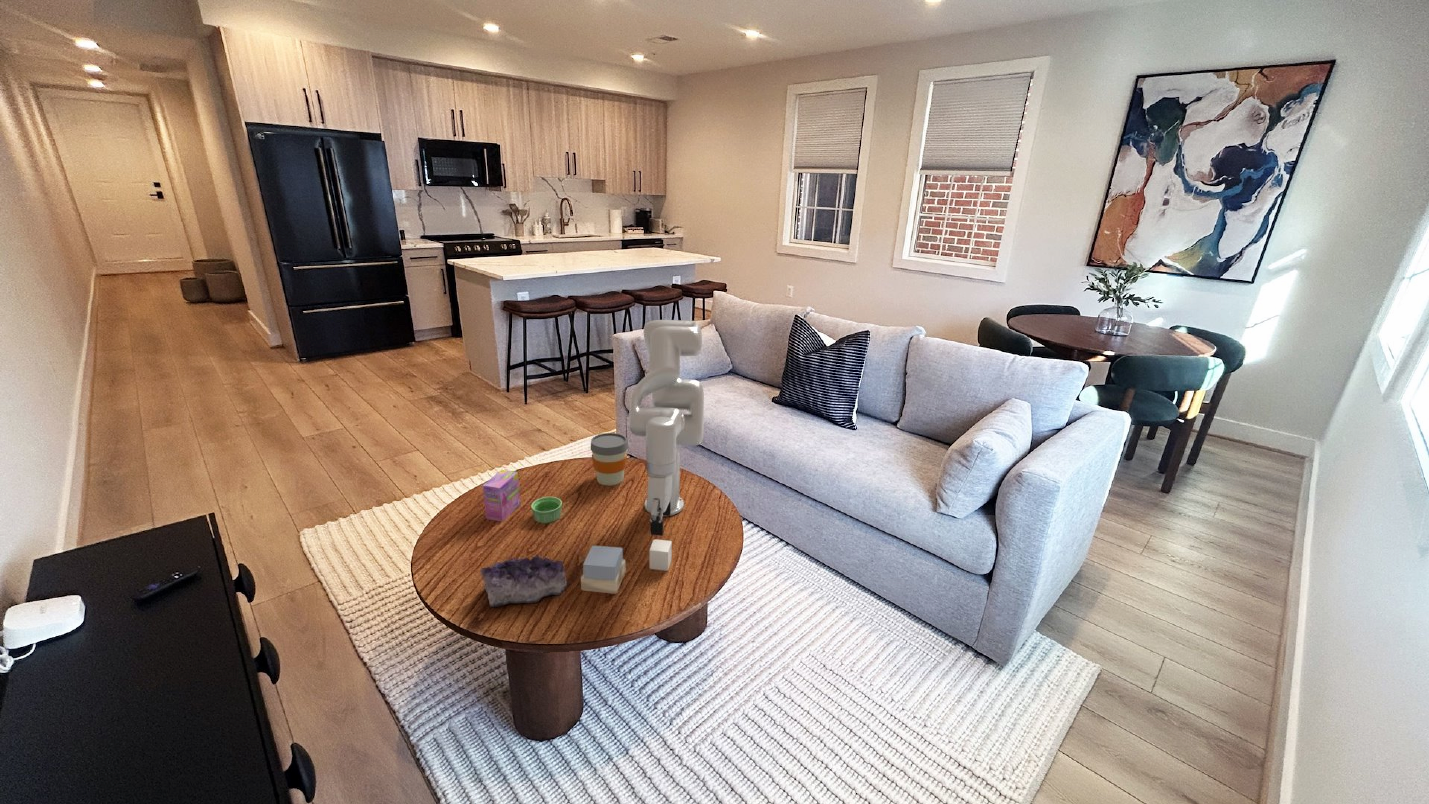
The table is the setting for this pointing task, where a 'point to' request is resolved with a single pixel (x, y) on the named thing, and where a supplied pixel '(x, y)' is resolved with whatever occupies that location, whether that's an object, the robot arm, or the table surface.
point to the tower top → (603, 562)
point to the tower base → (604, 582)
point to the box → (501, 495)
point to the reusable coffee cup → (609, 457)
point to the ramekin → (546, 509)
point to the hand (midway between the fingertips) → (660, 524)
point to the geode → (523, 580)
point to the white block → (660, 554)
